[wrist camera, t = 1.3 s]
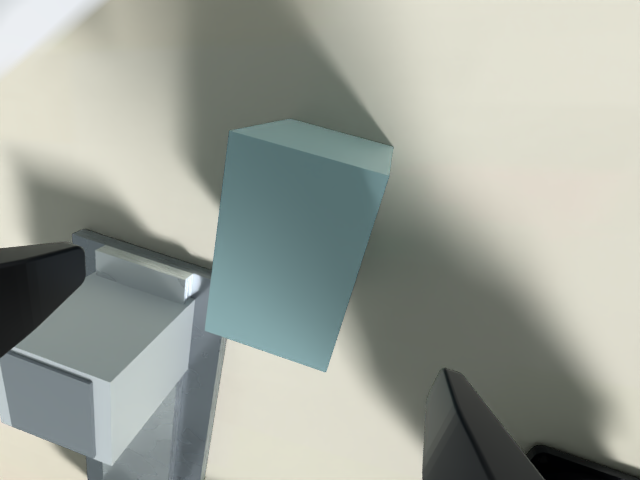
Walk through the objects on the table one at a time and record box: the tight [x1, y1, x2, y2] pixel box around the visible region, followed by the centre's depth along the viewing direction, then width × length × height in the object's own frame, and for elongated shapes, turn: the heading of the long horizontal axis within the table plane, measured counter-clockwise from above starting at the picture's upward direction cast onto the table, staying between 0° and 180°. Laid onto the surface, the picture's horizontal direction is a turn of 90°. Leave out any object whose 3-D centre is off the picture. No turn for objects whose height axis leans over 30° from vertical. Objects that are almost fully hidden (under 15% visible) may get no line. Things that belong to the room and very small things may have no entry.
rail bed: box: [72, 229, 227, 480], centre depth 24 cm, size 9×26×2 cm, turn 166°
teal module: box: [205, 119, 393, 372], centre depth 14 cm, size 4×7×6 cm, turn 166°
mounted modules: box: [0, 272, 195, 480], centre depth 21 cm, size 6×23×6 cm, turn 167°
